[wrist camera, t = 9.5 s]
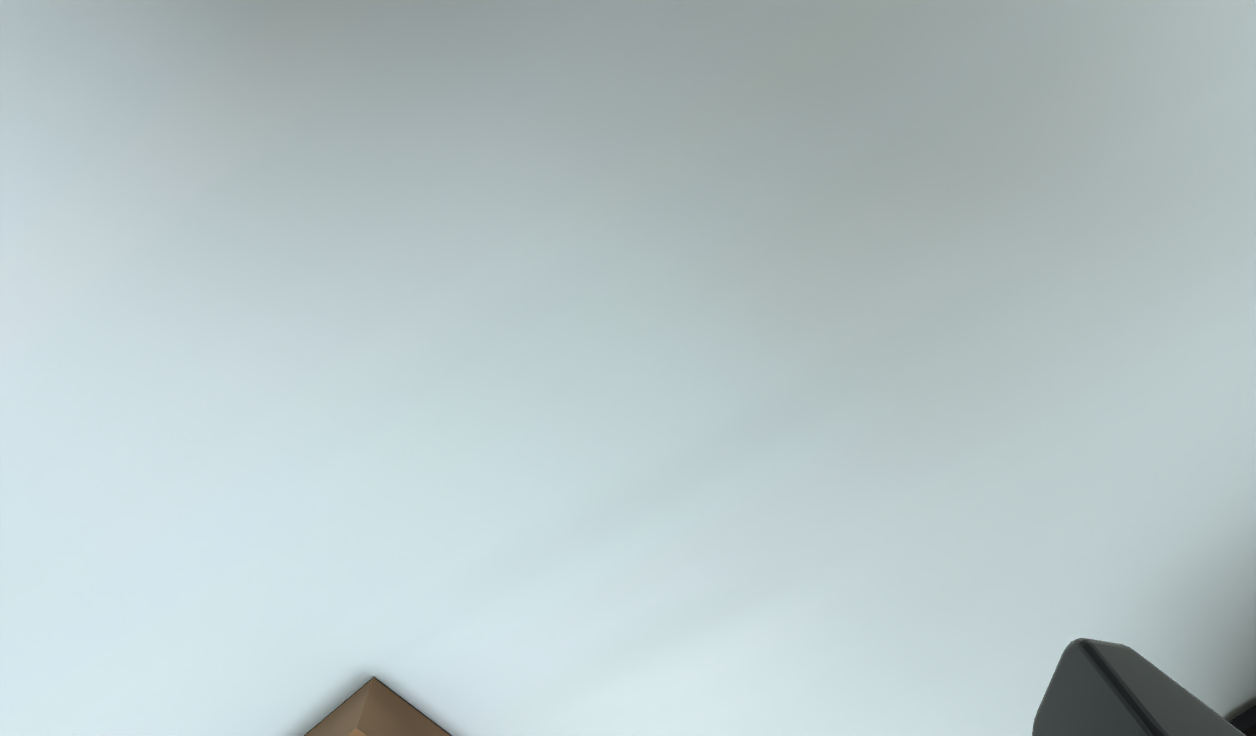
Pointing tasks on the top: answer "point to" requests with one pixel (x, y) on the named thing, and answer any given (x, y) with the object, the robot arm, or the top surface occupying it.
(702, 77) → the top surface
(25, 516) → the top surface
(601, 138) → the top surface
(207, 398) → the top surface
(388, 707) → the brown square tray
